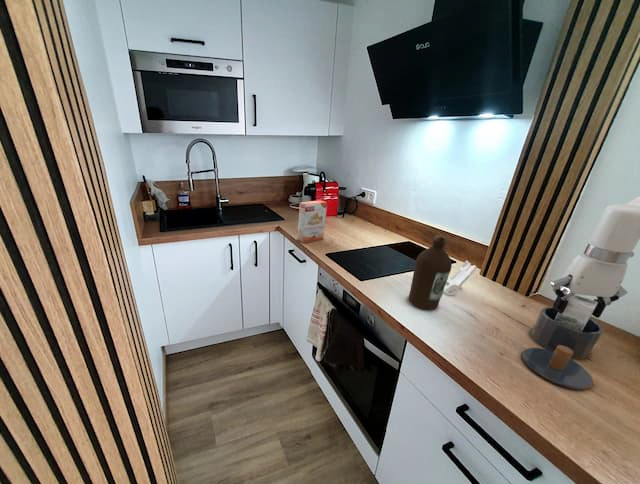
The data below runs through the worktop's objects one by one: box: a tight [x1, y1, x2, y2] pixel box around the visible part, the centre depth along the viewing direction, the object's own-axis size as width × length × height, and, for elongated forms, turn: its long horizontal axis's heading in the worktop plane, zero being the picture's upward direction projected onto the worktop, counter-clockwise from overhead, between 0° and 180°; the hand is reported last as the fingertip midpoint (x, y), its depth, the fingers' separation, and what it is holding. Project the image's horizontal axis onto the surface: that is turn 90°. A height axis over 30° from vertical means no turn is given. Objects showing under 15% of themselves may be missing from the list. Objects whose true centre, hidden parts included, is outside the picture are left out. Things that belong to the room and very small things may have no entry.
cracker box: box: [297, 200, 328, 244], centre depth 152 cm, size 14×6×21 cm, turn 120°
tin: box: [530, 306, 604, 360], centre depth 81 cm, size 12×12×8 cm
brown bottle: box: [408, 234, 452, 311], centre depth 95 cm, size 11×11×25 cm
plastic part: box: [443, 260, 478, 296], centre depth 107 cm, size 8×10×12 cm
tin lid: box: [521, 345, 594, 390], centre depth 72 cm, size 13×13×7 cm
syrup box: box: [554, 294, 598, 331], centre depth 80 cm, size 6×6×14 cm
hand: (575, 312), depth 78 cm, fingers closed on syrup box, 7 cm apart
